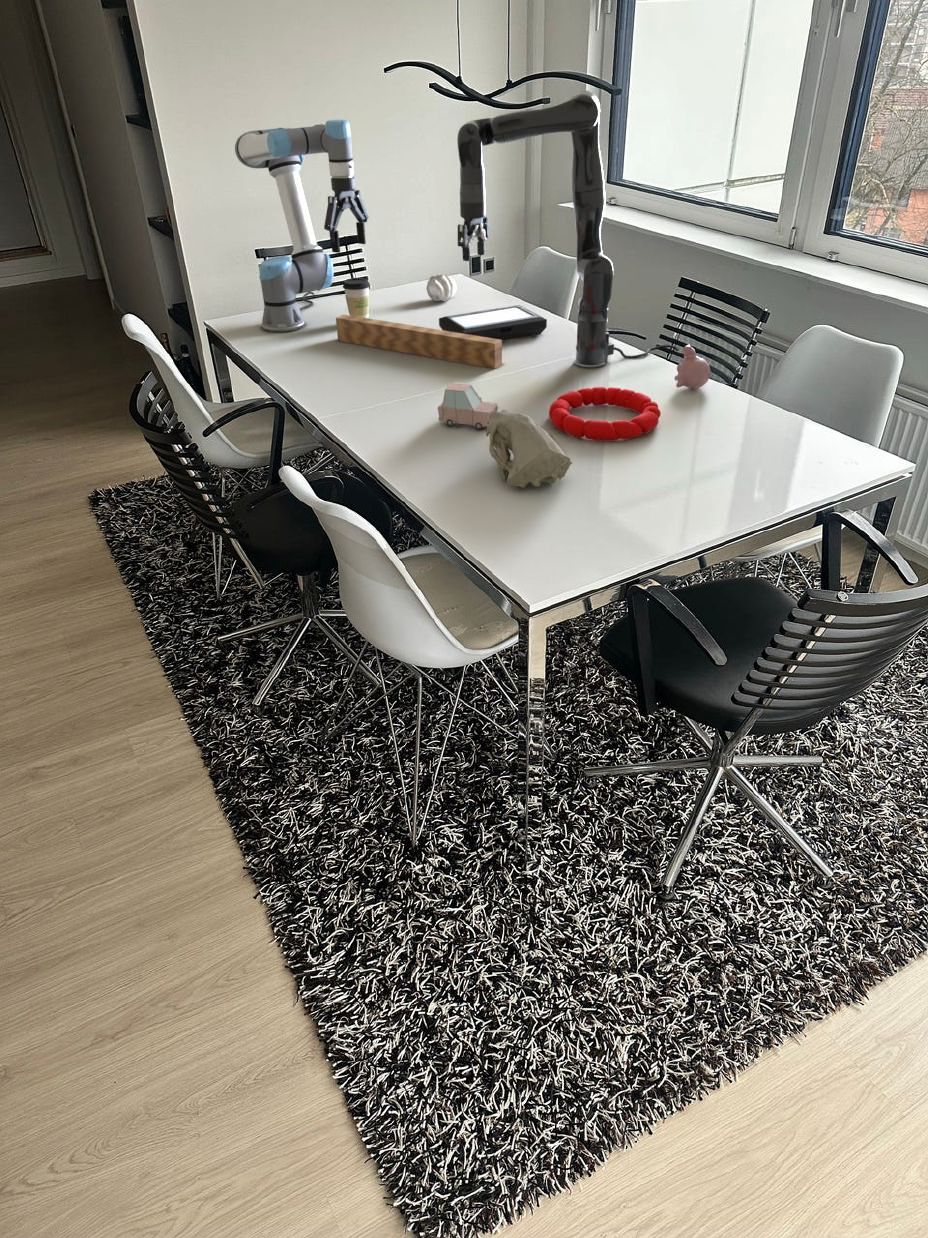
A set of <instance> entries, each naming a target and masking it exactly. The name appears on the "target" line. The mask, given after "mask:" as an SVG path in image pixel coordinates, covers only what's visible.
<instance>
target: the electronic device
mask: <svg viewBox="0 0 928 1238" xmlns="http://www.w3.org/2000/svg"><path fill="white" fill-rule="evenodd" d="M438 326H439V328H440V330H444V331H450V332H456V333H462V334H469V335H475V336H481V337H487V338H494V339H500V340H502V342H504V341H511V340H516V339H522V338H528V337H534V336H540V335H542V333H544V331H545V330H546V329H547V327H548V319H546V318H544V317H543V316H540V315H539V314H537V313H535V312H533V311H531V310H529V309H527V308H526V307H524V306H522V305H519V304H516V305H511V306H503V307H498V308H491V309H485V310H478V311H472V312H466V313H459V314H453V315H446V316H443V317H439V318H438Z"/></svg>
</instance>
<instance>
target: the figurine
mask: <svg viewBox="0 0 928 1238" xmlns="http://www.w3.org/2000/svg"><path fill="white" fill-rule="evenodd" d="M682 354H683V358H684V359H683V361H682V362H679V363H678V364H677V365H676V372H677V375H675V376H674V381H675V382H676V381H677V382H676V384H675V386H676V388H681V387H686V388H688V389H693V390H694V389H695V390H696V389H700V388H703V387H704V386H705V385H706V384H707V383H708V382H709V379H710V377H711V367H710V364H709V362H708V361H706V359H704V358H702V357H700V356H697V353H696V350H695V349H694V347H692V345H690V344H686V345H685V346H684V347H683V348H682Z"/></svg>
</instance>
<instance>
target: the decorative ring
mask: <svg viewBox="0 0 928 1238" xmlns="http://www.w3.org/2000/svg"><path fill="white" fill-rule="evenodd" d="M583 405H584V406H586V407H587V406H591V405H593V406H604V405H608V406H614V407H619V408H624V409H628V410H632V411H635V412H636V413H638V414H639V415H637V416H635V417H632V418H631V419H630V420H625V419H624V420H623V419H622V420H614V421H611V422H609V421H607V420H606V421H605V420H593V419H587V420H586V421H585V419H584V418H582V417H579V416H577V415H573V414H571V413H570V410H571V409H579V408H581V407H582V406H583ZM548 416H549V419H550V422H551V423H552V425H553V426H554V427H555V428H556V429H558V430H559V431H561V432H563V433H567V434H568V435H569V436H573V437H576V438H580V439H582V438H583V437H585V438H586V439H587V440H591V441H601V442H602V441H603V442H608V441H609V442H610V441H611V442H612V441H615V442H616V441H618V440H630V439H634V438H638V437H641V436H642V434H647V433H650V432H651V431H653V430H654V429H655V428H656V427H657V426H658V424H659V422H660V421H659V420H660V417H661V410H660V408H659V405H658V403H657V402H656V401H652V399H651V397H649V396H648V395H646V394H644V393H642V392H635V391H634V390H632V389H628V388H624V389H622V388H620V387H613V386H612V387H611V386H610V387H608V388H606V387H604V386H594V387H585V388H584V387H583V388H580V389H578V390H571V391H568V392H565V393H563V394H561V395H560V396H558V397H557V398H556V400H554V401H552V403H551V404H550V407H549V409H548Z"/></svg>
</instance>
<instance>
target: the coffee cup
mask: <svg viewBox="0 0 928 1238" xmlns="http://www.w3.org/2000/svg"><path fill="white" fill-rule="evenodd" d="M370 287H371V283H370V282H369V279H367V278H365V277H351V278H347V279H345V280H344V281H343V285H342V288H343V290H344V297H345V301H346V305H347V310H348V315H350V316H356V317H363V318H369V317H370V316H369V313H370Z"/></svg>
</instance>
